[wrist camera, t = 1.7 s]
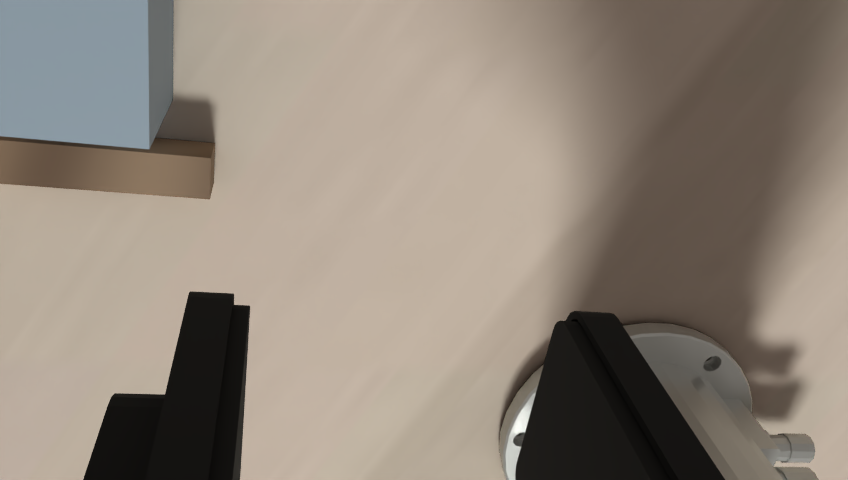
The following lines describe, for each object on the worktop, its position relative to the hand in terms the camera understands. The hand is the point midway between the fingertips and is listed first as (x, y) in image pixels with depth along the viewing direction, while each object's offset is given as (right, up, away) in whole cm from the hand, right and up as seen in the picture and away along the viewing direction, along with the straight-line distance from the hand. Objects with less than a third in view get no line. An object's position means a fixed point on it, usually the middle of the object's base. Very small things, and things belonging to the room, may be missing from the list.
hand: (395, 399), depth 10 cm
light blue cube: (-11, +10, +15) cm, 21 cm away
